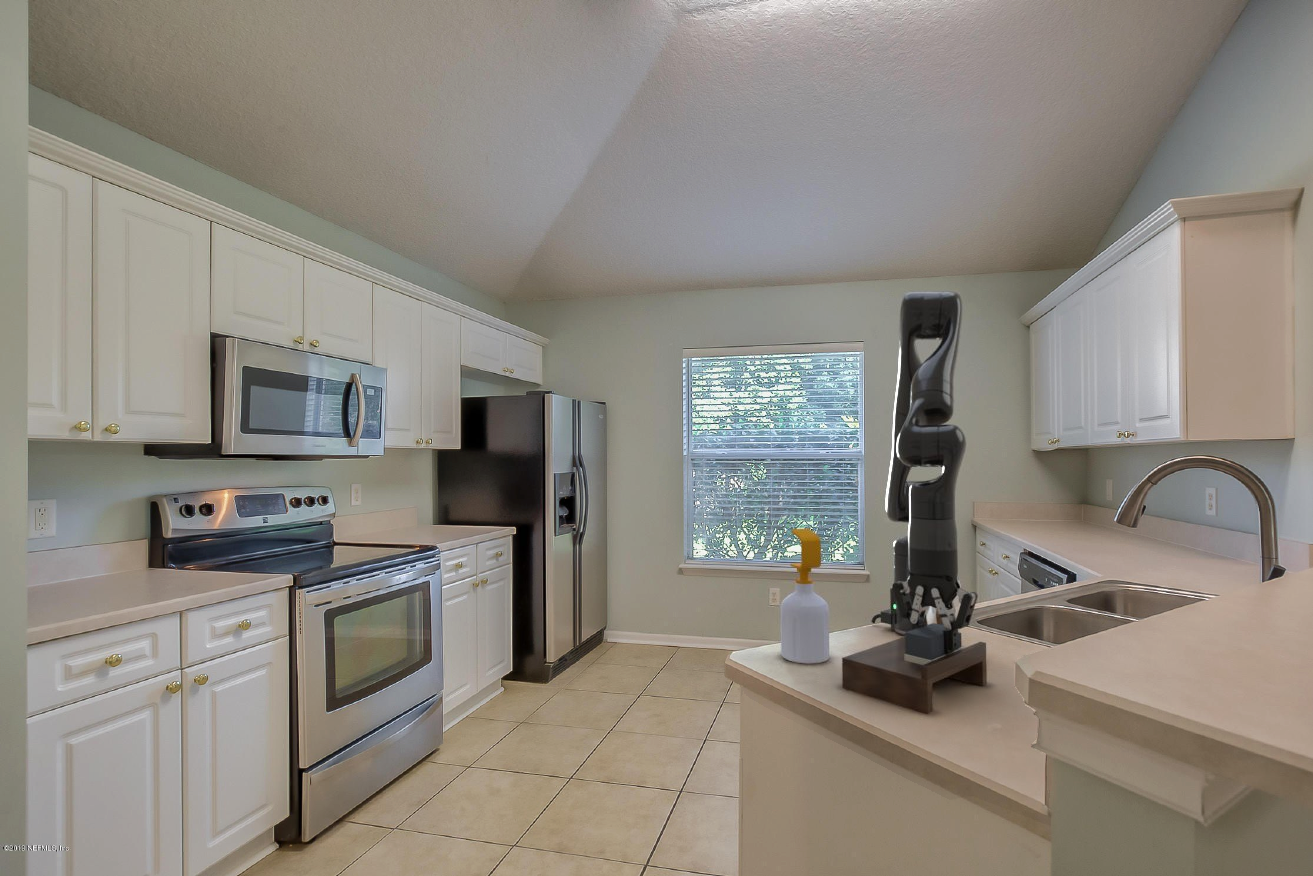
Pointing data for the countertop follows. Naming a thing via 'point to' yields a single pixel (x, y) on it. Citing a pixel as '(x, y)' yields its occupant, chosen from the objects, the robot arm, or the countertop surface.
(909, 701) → the board
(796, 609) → the soap bottle
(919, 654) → the stepped grey pillar
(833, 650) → the countertop surface
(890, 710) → the countertop surface
